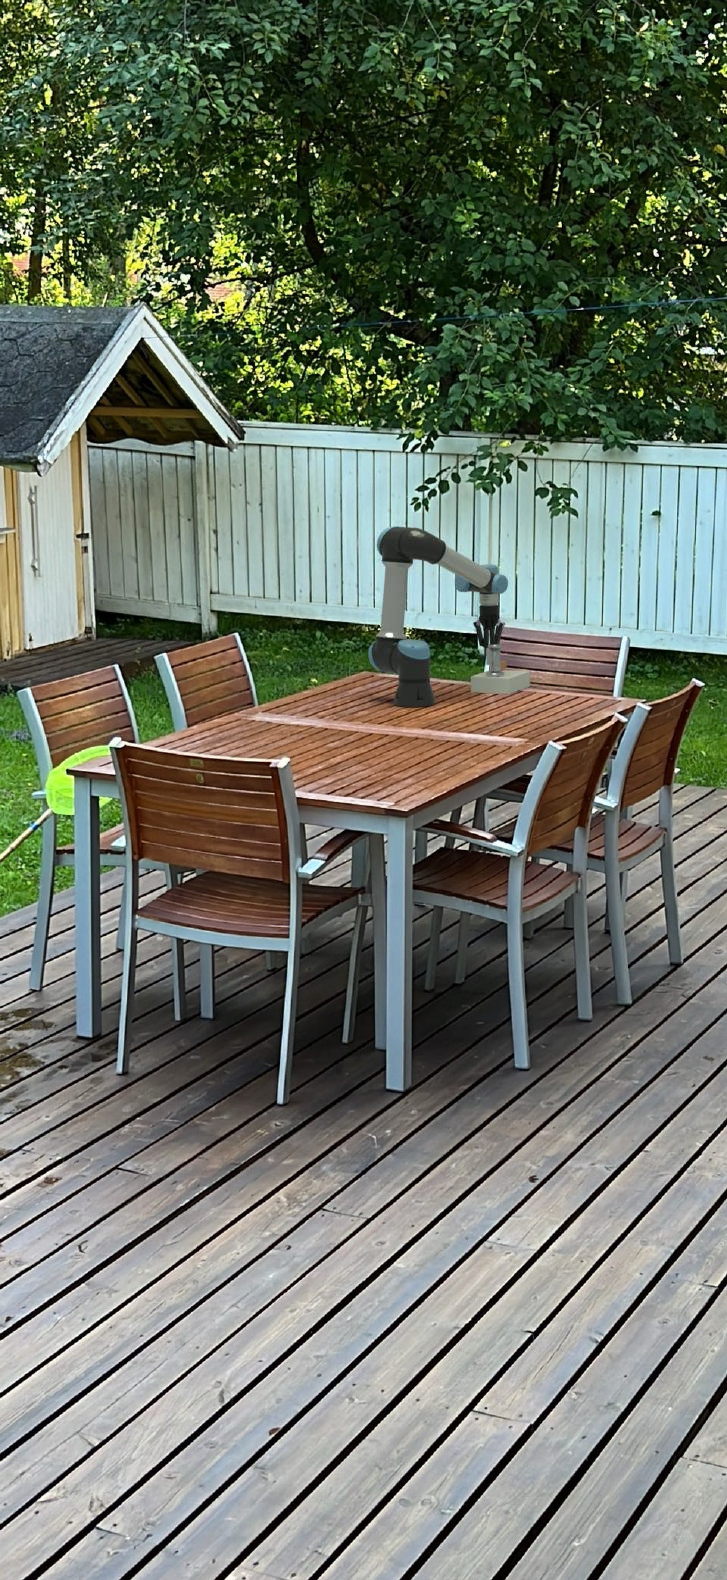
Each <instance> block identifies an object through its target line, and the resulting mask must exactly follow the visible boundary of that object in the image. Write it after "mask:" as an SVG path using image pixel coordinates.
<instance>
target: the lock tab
mask: <svg viewBox="0 0 727 1580" xmlns="http://www.w3.org/2000/svg"><path fill="white" fill-rule="evenodd" d="M507 668H508V667H507V660H504V659H503V660H502V659H500V670H507Z"/></svg>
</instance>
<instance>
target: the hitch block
mask: <svg viewBox="0 0 727 1580" xmlns="http://www.w3.org/2000/svg"><path fill="white" fill-rule="evenodd" d="M486 672H490V669H489V670H487V671H484V672H480V673H477V674H474V675H472V676H470V692H471V693H482V694H498V695H511V694H514V693H516V691H517V692H519V691H518V690H520V691H522V690H524V689H528V688H530V687H531V671H529V670H511V669H510V670H509V669H503V670H500V672H504V676H502V677H487V676H486Z"/></svg>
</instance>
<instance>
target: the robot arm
mask: <svg viewBox="0 0 727 1580" xmlns="http://www.w3.org/2000/svg"><path fill="white" fill-rule="evenodd" d="M376 548H377V551H378V554H379V555H380V556H381V564H382V565H383V566H384V567H385V568H384V581H383V594H382V607H381V619H380V630H379V632H378V633H377V634H376V635H375V640H374V641H372V642H371V645H369V647H368V654H367V655H368V660H369V662H370V665H372V667H373V668H374V669H375V670H377V671H380V672H382V673H391V674H398V684H397V685H398V686H397V688H396V692H395V695H394V699H393V702H394V704H393V705H395V706H397V707H406V708H422V707H430V706H434V705H436V697H435V694H434V691H433V688H432V685H431V652H430V646H429V644H428V643H427V642H426V641H423V640H420V639H410V638H409V639H408V638H407V636H406V634H404V628H405V627H404V626H405V613H406V603H407V592H408V591H407V589H408V578H409V577H408V576H409V569H410V568H411V567H412V565H414V560H417V561H421V562H422V561H423V562H426V563H428V564H429V565H438V566H439V567H441V568H443V569H445V570H447V571H449V572H450V573H452V574H454V575H455V577H454V587H455V590H457V591H458V592H460V593H469V592H471V593H478V597H479V598H478V599H479V600H478V601H479V606H478V607H479V610H478V613H479V616H478V619H477V620H476V621H474V622H473V623H472V625H473V626H474V628H475V632H476V635H477V637H476V638H477V641H478V644H479V646H480V647H482V648H483V655H484V657H485V664H486V666H490V648H488V644H501V642H500V641H501V639H502V634H503V629H504V627H505V626H506V623H505V622H504V621H502V620H500V616H499V615H500V614H499V613H500V612H499V609H500V608H499V605H498V604H499V603H500V602H499V599H500V598H499V595H501V594H504V593H505V592H506V591H507V590H508V586H509V580H508V577H506V575H505V574H501V573H499V567H498V565H496V564H491V563H490V564H486V563H485V564H479V563H477V562H475V561H473V560H472V559H471V558H468V557H467V556H465V555H463V554H461V553H460V552H458V551H456V550H455V549H452V548H451V547H449V546H447V544H446V542H445V541H444V540H443V539H441V538H439V537H437V536H435V535H434V534H432V533H431V532H428V531H426V530H425V529H422V528H419V527H408V526H388V527H386V528H385V529H383V531H381V532H380V533H379V535H378V538H377V541H376ZM496 627H497V629H496Z"/></svg>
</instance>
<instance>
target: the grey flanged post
mask: <svg viewBox="0 0 727 1580" xmlns="http://www.w3.org/2000/svg"><path fill="white" fill-rule="evenodd" d="M502 647H503V645H502V643H499V644H490V643H489V644H488V648H490V665H489V670H490V672H486V671H485V672H486V676H487V677H502V676H504V672H500V661H501V648H502Z"/></svg>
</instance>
